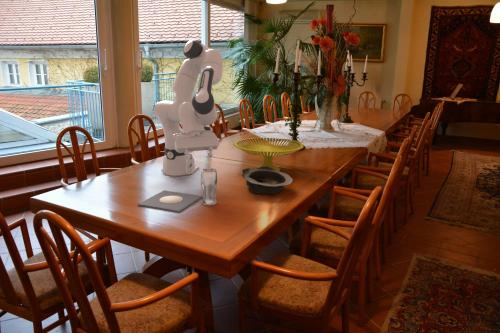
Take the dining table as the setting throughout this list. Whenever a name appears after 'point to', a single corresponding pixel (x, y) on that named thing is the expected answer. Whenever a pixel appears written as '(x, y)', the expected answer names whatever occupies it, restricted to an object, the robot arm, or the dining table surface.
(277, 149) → the cake stand
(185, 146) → the robot arm
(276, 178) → the stone bowl
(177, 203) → the place mat
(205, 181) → the beer glass
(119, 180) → the dining table surface
